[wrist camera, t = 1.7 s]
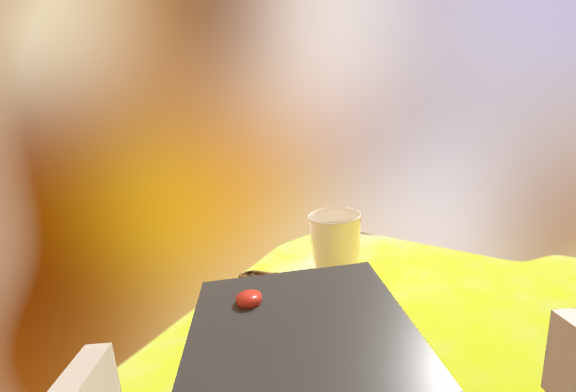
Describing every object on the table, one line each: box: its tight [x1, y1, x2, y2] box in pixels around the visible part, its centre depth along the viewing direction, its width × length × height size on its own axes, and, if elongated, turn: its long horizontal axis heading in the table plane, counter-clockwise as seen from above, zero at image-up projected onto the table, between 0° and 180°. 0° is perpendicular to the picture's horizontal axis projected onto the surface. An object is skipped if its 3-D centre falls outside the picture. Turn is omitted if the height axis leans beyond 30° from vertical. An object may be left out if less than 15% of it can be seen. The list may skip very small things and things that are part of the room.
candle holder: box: [308, 207, 361, 268], centre depth 66 cm, size 10×10×12 cm
